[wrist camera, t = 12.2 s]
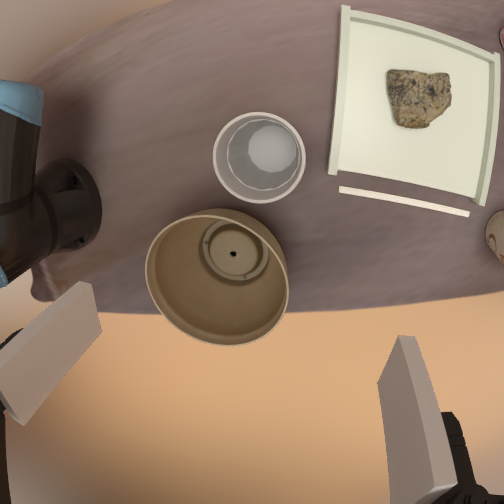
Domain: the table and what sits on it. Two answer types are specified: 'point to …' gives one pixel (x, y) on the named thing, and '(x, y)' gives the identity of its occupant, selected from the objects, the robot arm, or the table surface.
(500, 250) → the mug
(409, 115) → the rock
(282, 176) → the cup
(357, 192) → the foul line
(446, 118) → the white square tray
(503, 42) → the pill bottle
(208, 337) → the planter bowl
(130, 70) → the table surface
